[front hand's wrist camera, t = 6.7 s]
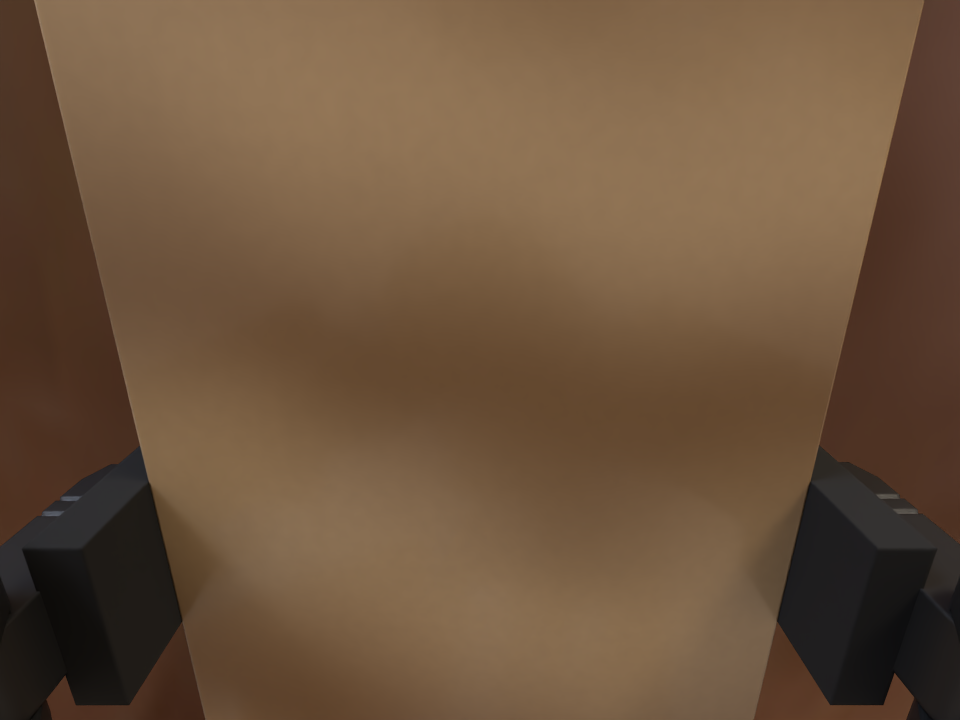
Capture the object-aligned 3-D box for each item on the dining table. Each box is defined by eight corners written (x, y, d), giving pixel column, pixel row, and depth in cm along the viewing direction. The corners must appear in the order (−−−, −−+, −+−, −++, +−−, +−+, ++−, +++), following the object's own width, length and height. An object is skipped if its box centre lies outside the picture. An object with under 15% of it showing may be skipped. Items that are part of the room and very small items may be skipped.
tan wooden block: (270, -103, 13) (-102, -557, 5) (688, -102, 13) (1059, -556, 5) (333, 484, 19) (212, 756, 10) (626, 484, 19) (746, 756, 10)
